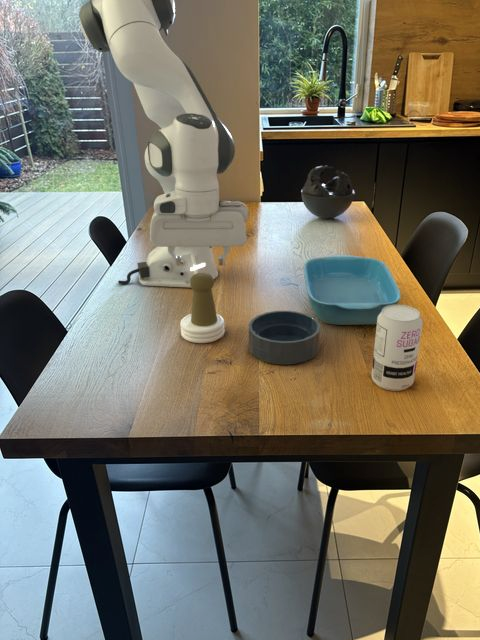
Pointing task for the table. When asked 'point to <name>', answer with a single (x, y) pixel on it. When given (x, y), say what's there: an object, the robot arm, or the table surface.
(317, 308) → the casserole dish
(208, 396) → the table surface
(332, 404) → the table surface
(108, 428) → the table surface
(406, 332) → the supplement can
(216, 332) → the coaster
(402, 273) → the table surface
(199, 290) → the olive pawn
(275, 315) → the bowl
